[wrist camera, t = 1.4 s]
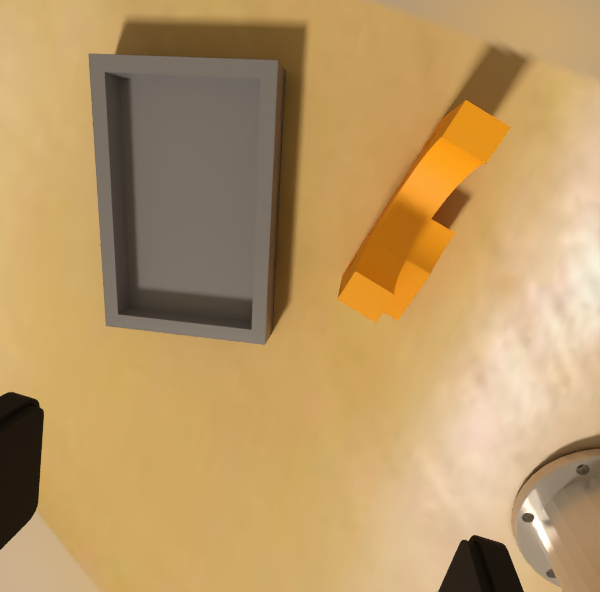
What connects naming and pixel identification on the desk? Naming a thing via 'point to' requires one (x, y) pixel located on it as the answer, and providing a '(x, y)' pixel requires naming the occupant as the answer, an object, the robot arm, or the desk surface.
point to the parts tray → (188, 192)
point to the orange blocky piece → (418, 216)
